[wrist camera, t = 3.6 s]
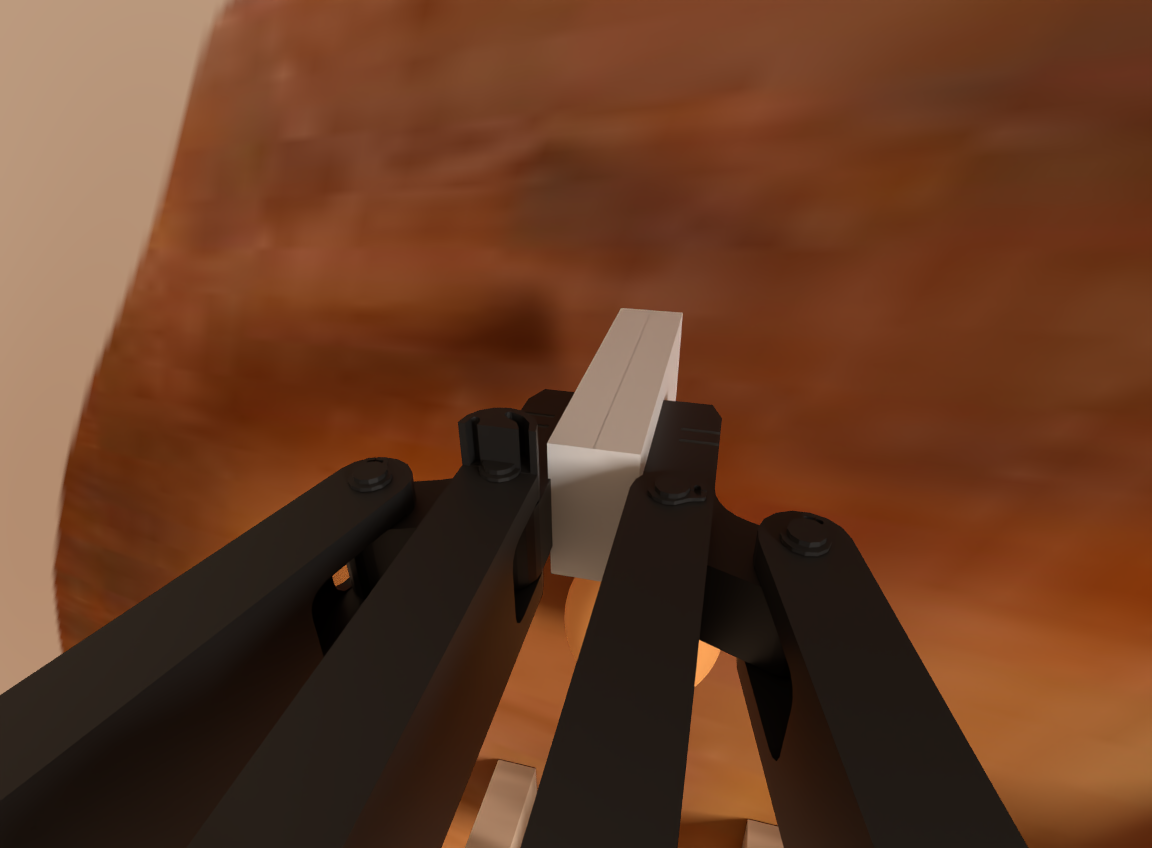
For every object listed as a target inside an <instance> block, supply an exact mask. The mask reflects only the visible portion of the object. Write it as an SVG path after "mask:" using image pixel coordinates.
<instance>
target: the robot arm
mask: <svg viewBox="0 0 1152 848" xmlns="http://www.w3.org/2000/svg"><path fill="white" fill-rule="evenodd" d="M682 316H683V313H678V312H665V311H652V310H639V309H626V308H621V309H620V311H619V313H618V315H617V317H616V318H615V320H614V322H613V324H612V326H611V327H610V329H609V331H608V333H607V335H606V337H605V338H604V340H603V342H602V344H601V346H600V348H599V349H598V351H597V353H596V355H595V357H594V358H593V360H592V362H591V364H590V366H589V368H588V369H587V371H586V373H585V375H584V377H583V379H582V380H581V382H580V384H579V386H578V388H577V389H576V391H575V392H567V391H557V390H548V389H545V390H543V391H541V392H539V393H538V394H536V395H534V396H533V397H531V398H529V399H528V401H527V402H526V403H525V405H524V406H523V408H522V409H521V410H516V409H512V408H490V409H484V410H479V411H477V412H474V413H471V414H469V415H467V416H465V417H464V418H463V419H461V420H460V421H459V422H458V427H459V437H460V446H461V455H462V464H463V465H462V466H461V468H460V469H459V471H458V472H457V473H456V475H455V476H454V478H452V479H444V480H433V481H417V482H414V481H413V474H412V471H411V469H410V468H409V466H408V464H406V463H404V462H402V461H400V460H398V459H392V458H386V457H377V458H376V457H374V458H367V459H365V460H361V461H357V462H354V463H352V464H350V465H348V466H346V467H344V468H342V469H340V470H339V471H337V472H336V473H334V474H333V475H331V476H330V477H328V478H326V479H325V480H323V481H322V482H320V483H319V484H317V485H316V486H314V487H313V488H311V489H310V490H308V491H307V492H305V493H304V494H302V495H301V496H299V497H298V498H296V499H295V500H293V501H292V502H290V503H289V504H287V505H286V506H284V507H283V508H281V509H280V510H278V511H277V512H275V513H274V514H272V515H271V516H269V517H268V518H266V519H265V520H263V521H262V522H260V523H259V524H257V525H256V526H254V527H253V528H251V529H250V530H248V531H247V532H245V533H244V534H242V535H241V536H239V537H238V538H236V539H235V540H233V541H232V542H230V543H229V544H227V545H226V546H224V547H223V548H221V549H220V550H218V551H217V552H215V553H214V554H212V555H211V556H209V557H208V558H206V559H205V560H203V561H202V562H200V563H199V564H197V565H196V566H194V567H192V568H191V569H189V570H188V571H186V572H185V573H183V574H182V575H180V576H179V577H177V578H176V579H174V580H173V581H171V582H170V583H168V584H167V585H165V586H164V587H162V588H161V589H159V590H158V591H156V592H155V593H153V594H152V595H150V596H149V597H147V598H146V599H144V600H143V601H141V602H140V603H138V604H137V605H135V606H134V607H132V608H131V609H129V610H128V611H126V612H125V613H123V614H122V615H120V616H119V617H117V618H116V619H114V620H113V621H111V622H110V623H108V624H107V625H105V626H104V627H102V628H101V629H99V630H98V631H96V632H95V633H93V634H92V635H90V636H89V637H87V638H86V639H84V640H83V641H81V642H80V643H78V644H77V645H75V646H74V647H72V648H71V649H69V650H68V651H66V652H65V653H63V654H61V655H60V656H58V657H57V658H55V659H54V660H53V661H51V662H50V663H48V664H46V665H45V666H44V667H42V668H40V669H39V670H37V671H36V672H34V673H33V674H31V675H30V676H28V677H27V678H25V679H24V680H22V681H21V682H19V683H18V684H16V685H15V686H13V687H12V688H10V689H9V690H7V691H6V692H4V693H3V694H1V695H0V848H441V847H442V845H443V842H444V840H445V837H446V835H447V832H448V830H449V827H450V825H451V822H452V820H453V817H454V815H455V812H456V810H457V807H458V805H459V802H460V800H461V797H462V795H463V792H464V790H465V787H466V785H467V782H468V780H469V777H470V775H471V772H472V770H473V767H474V765H475V762H476V760H477V757H478V755H479V752H480V750H481V747H482V745H483V742H484V740H485V737H486V735H487V732H488V730H489V727H490V725H491V722H492V720H493V717H494V714H495V712H496V709H497V707H498V704H499V702H500V699H501V697H502V694H503V692H504V689H505V687H506V684H507V682H508V679H509V677H510V674H511V672H512V669H513V667H514V664H515V662H516V659H517V657H518V654H519V652H520V649H521V647H522V644H523V642H524V639H525V637H526V634H527V632H528V629H529V627H530V624H531V622H532V619H533V617H534V614H535V612H536V609H537V607H538V604H539V602H540V599H541V597H542V594H543V586H544V580H543V568H544V565H545V563H546V561H547V558H548V556H549V553H550V555H551V573H552V574H558V575H564V576H570V577H576V578H582V579H588V580H594V581H600V582H601V584H600V587H599V591H598V594H597V597H596V600H595V604H594V607H593V610H592V614H591V617H590V620H589V624H588V627H587V630H586V633H585V637H584V640H583V643H582V647H581V650H580V653H579V656H578V660H577V663H576V666H575V670H574V673H573V676H572V679H571V683H570V686H569V689H568V693H567V696H566V699H565V702H564V706H563V709H562V712H561V716H560V719H559V722H558V725H557V729H556V732H555V735H554V739H553V742H552V745H551V748H550V752H549V755H548V758H547V762H546V765H545V768H544V771H543V775H542V778H541V781H540V785H539V788H538V791H537V794H536V798H535V801H534V804H533V808H532V811H531V814H530V817H529V821H528V824H527V827H526V831H525V834H524V837H523V840H522V844H521V847H520V848H677V847H678V837H679V828H680V818H681V809H682V799H683V790H684V780H685V771H686V761H687V752H688V742H689V733H690V723H691V714H692V704H693V695H694V685H695V676H696V667H697V657H698V648H699V640H701V641H703V642H705V643H707V644H709V645H711V646H713V647H716V648H718V649H720V650H722V651H724V652H726V653H728V654H731V655H733V656H735V657H737V670H738V674H739V678H740V682H741V686H742V689H743V693H744V697H745V701H746V705H747V709H748V712H749V716H750V720H751V724H752V728H753V732H754V736H755V739H756V743H757V747H758V751H759V755H760V759H761V762H762V766H763V770H764V774H765V778H766V782H767V785H768V789H769V793H770V797H771V801H772V805H773V809H774V812H775V816H776V820H777V824H778V828H779V832H780V835H781V839H782V843H783V847H784V848H1028V847H1027V845H1026V843H1025V841H1024V839H1023V838H1022V836H1021V834H1020V832H1019V831H1018V829H1017V827H1016V825H1015V824H1014V822H1013V820H1012V818H1011V817H1010V815H1009V813H1008V811H1007V810H1006V808H1005V806H1004V804H1003V803H1002V801H1001V799H1000V797H999V796H998V794H997V792H996V790H995V789H994V787H993V785H992V783H991V782H990V780H989V778H988V776H987V775H986V773H985V771H984V769H983V768H982V766H981V764H980V762H979V761H978V759H977V757H976V755H975V754H974V752H973V750H972V748H971V747H970V745H969V743H968V741H967V740H966V738H965V736H964V734H963V732H962V731H961V729H960V727H959V725H958V724H957V722H956V720H955V718H954V717H953V715H952V713H951V711H950V710H949V708H948V706H947V704H946V703H945V701H944V699H943V697H942V696H941V694H940V692H939V690H938V689H937V687H936V685H935V683H934V682H933V680H932V678H931V676H930V675H929V673H928V671H927V669H926V668H925V666H924V664H923V662H922V661H921V659H920V657H919V655H918V654H917V652H916V650H915V648H914V647H913V645H912V643H911V641H910V640H909V638H908V636H907V634H906V633H905V631H904V629H903V627H902V626H901V624H900V622H899V620H898V618H897V617H896V615H895V613H894V611H893V610H892V608H891V606H890V604H889V603H888V601H887V599H886V597H885V596H884V594H883V592H882V590H881V589H880V587H879V585H878V583H877V582H876V580H875V578H874V576H873V575H872V573H871V571H870V569H869V568H868V566H867V564H866V562H865V561H864V559H863V557H862V555H861V554H860V552H859V550H858V548H857V547H856V545H855V543H854V541H853V540H852V538H851V537H850V536H849V535H848V534H847V533H846V531H845V530H844V529H843V528H842V527H840V526H838V525H837V524H835V523H834V522H832V521H830V520H829V519H827V518H824V517H821V516H818V515H815V514H812V513H807V512H798V511H787V512H780V513H775V514H773V515H771V516H769V517H767V518H765V519H764V520H763V521H762V523H761V524H760V525H757V524H754V523H752V522H749V521H746V520H744V519H742V518H740V517H737V516H736V515H734V514H733V513H731V512H730V511H728V510H727V509H726V508H725V507H724V506H723V505H722V504H721V503H720V502H719V500H718V498H717V497H716V494H715V480H716V470H717V460H718V450H719V441H720V431H721V421H722V418H721V417H720V415H719V414H718V412H717V411H716V409H715V408H714V406H713V405H707V404H697V403H688V402H678V401H676V391H677V378H678V366H679V353H680V341H681V328H682ZM346 564H347V568H348V572H349V576H350V577H349V578H348V579H347V580H346V581H345V582H343V583H342V584H340V585H338V586H335V585H334V582H333V578H332V576H333V575H334V574H335V573H336V572H337V571H339V570H340V569H341V568H342V567H343V566H345V565H346Z"/></svg>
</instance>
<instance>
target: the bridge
mask: <svg viewBox="0 0 1152 848" xmlns="http://www.w3.org/2000/svg"><path fill="white" fill-rule="evenodd" d="M536 794H537V784H536V768H532V767H528V766H523V765H519V764H515V763H511V762H507V761H502V760H498V762H497V765H496V767H495V770H494V773H493V775H492V778H491V781H490V783H489V786H488V789H487V791H486V794H485V796H484V799H483V802H482V804H481V807H480V810H479V812H478V815H477V818H476V820H475V823H474V825H473V828H472V831H471V833H470V836H469V839H468V841H467V844H466V847H465V848H520V847H521V844H522V840H523V837H524V834H525V831H526V827H527V824H528V821H529V817H530V814H531V811H532V808H533V804H534V801H535V798H536ZM742 848H784V847H783V843H782V839H781V835H780V832H779V828H778V826H774V825H769V824H765V823H761V822H757V821H753V820H749V819H748V821H747V826H746V830H745V835H744V839H743V844H742Z"/></svg>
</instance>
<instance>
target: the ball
mask: <svg viewBox="0 0 1152 848" xmlns="http://www.w3.org/2000/svg"><path fill="white" fill-rule="evenodd" d="M600 584H601V582H600V581H594V580H588V579H582V578H576V577H575V578H574V580H573V582H572V584H571V586H570V588H569V592H568V596H567V600H566V604H565V616H564V620H565V631H566V636H567V640H568V643H569V647H570V650H571V652H572V654H573V656H574V658H575V660H576V662H577V660H578V656H579V653H580V650H581V647H582V643H583V640H584V637H585V633H586V630H587V627H588V624H589V620H590V617H591V614H592V610H593V607H594V604H595V600H596V597H597V594H598V591H599V587H600ZM719 653H720V649H718V648H716V647H713V646H711V645H709V644H707V643H705V642H703V641H701V640H699V648H698V657H697V667H696V676H695V685H694V687H695V686H696V685H698V684H699V683H700V682H701V681H702V680H703V679H704V677H705V676H706V675H707V674H708V673H709V671H710V670H711V668H712V667H713V665H714V663H715V662H716V660H717V657H718V655H719Z"/></svg>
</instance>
